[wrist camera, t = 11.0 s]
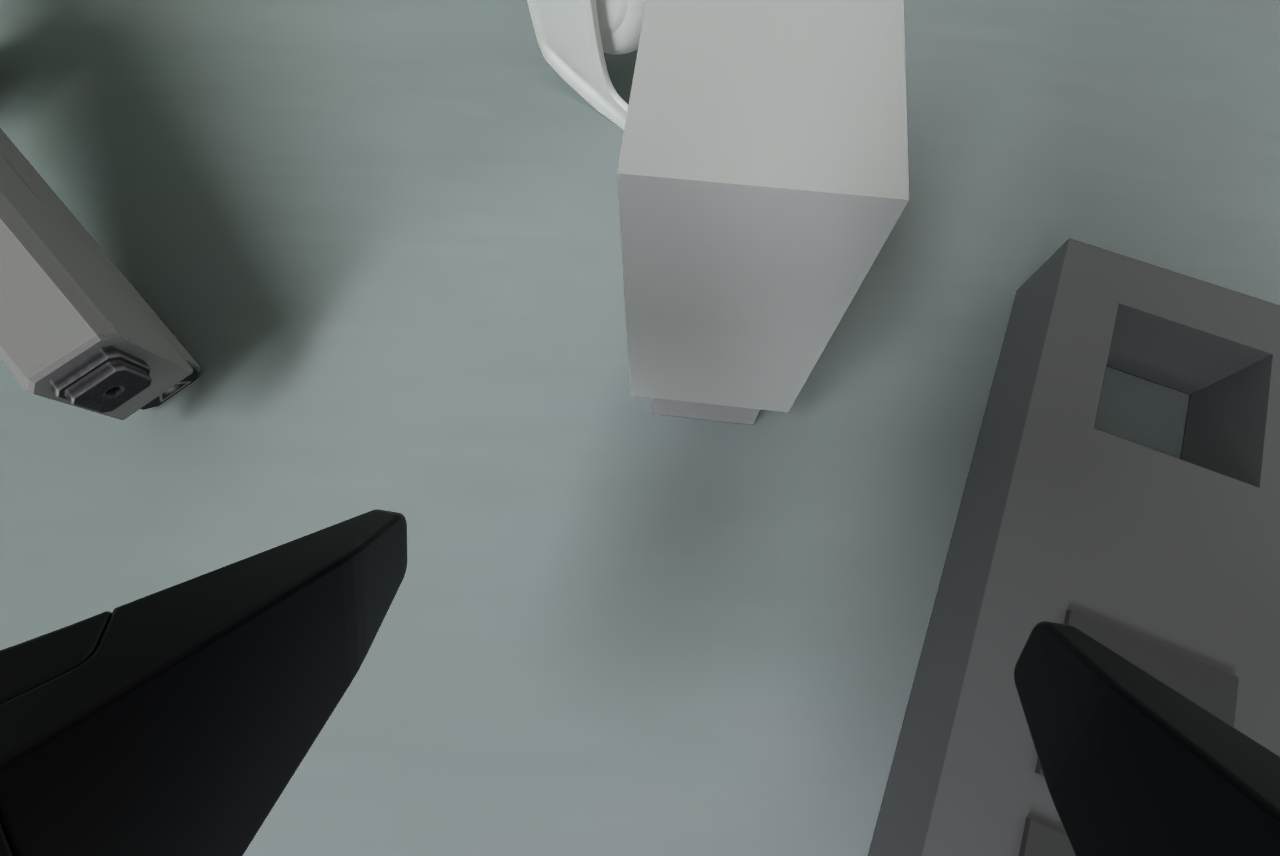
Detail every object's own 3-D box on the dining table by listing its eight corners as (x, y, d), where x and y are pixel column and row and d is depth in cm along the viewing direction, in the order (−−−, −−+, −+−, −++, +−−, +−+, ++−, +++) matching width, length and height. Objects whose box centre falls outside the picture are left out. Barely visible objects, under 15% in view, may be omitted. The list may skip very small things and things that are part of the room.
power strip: (1152, 1264, 14) (1310, 1453, 11) (809, 1077, 15) (855, 1195, 12) (1251, 369, 22) (1363, 315, 18) (1017, 290, 23) (1081, 226, 19)
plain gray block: (770, 443, 21) (909, 200, 10) (632, 428, 21) (617, 172, 10) (777, 322, 22) (903, -7, 11) (648, 309, 23) (650, -25, 12)
